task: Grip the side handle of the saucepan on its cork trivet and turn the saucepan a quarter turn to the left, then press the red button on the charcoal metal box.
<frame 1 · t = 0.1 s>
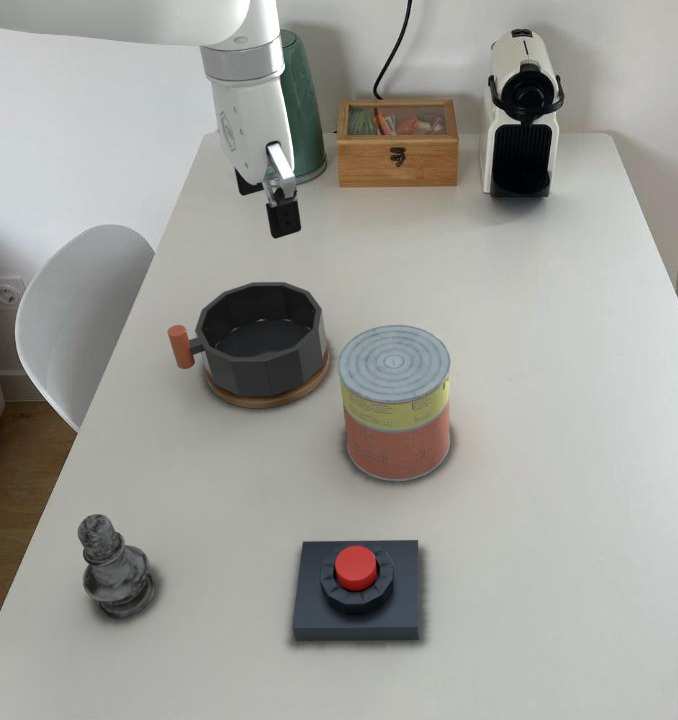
hand: (269, 211, 87), 20 cm above the table, tool pointing down, fingers open, 9 cm apart
button box: (359, 595, 75), on the table
saucepan: (248, 335, 95), point 5 cm above the table, hinge at 0.0°
trivet: (268, 364, 99), on the table
canned food: (398, 442, 89), on the table
button: (356, 568, 72), point 4 cm above the table, slide at 0.1 cm
grey chess pawn: (126, 594, 76), on the table
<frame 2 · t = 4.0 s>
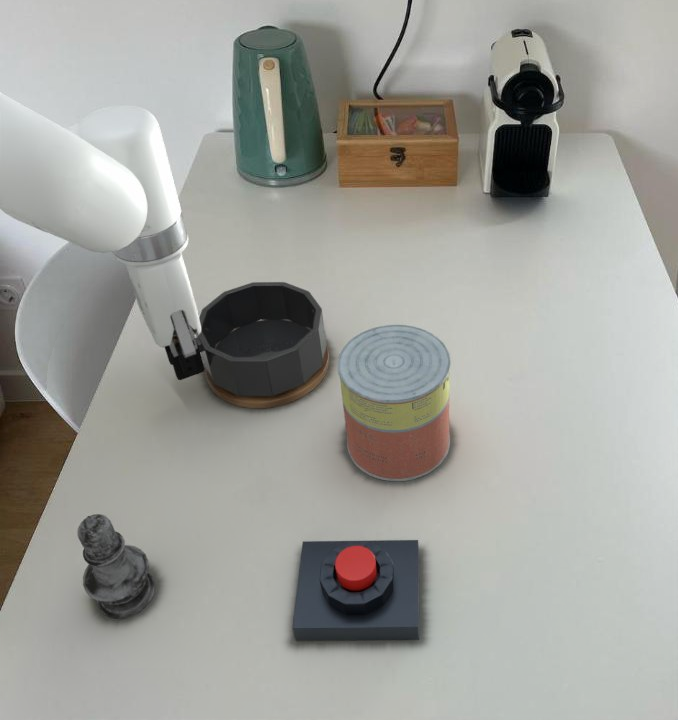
hand: (187, 366, 93), 4 cm above the table, tool pointing down, fingers closed on saucepan, 2 cm apart
saucepan: (248, 336, 95), point 5 cm above the table, hinge at 0.0°, touching gripper
everything else where it was.
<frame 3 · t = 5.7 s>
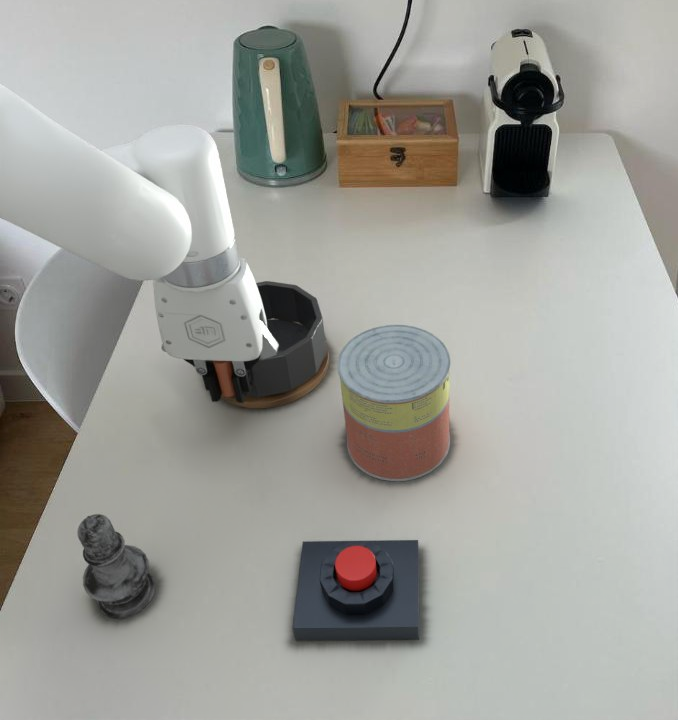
hand: (231, 392, 90), 4 cm above the table, tool pointing down, fingers closed on saucepan, 2 cm apart
saucepan: (256, 340, 94), point 5 cm above the table, hinge at 46.8°, touching gripper
everything else where it was.
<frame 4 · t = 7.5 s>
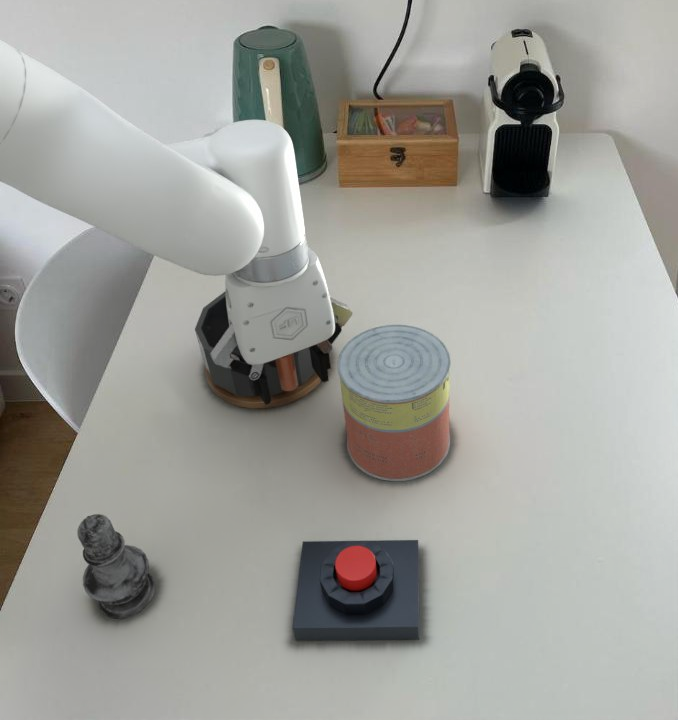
hand: (292, 384, 90), 4 cm above the table, tool pointing down, fingers open, 6 cm apart
saucepan: (265, 339, 94), point 5 cm above the table, hinge at 87.8°
everything else where it was.
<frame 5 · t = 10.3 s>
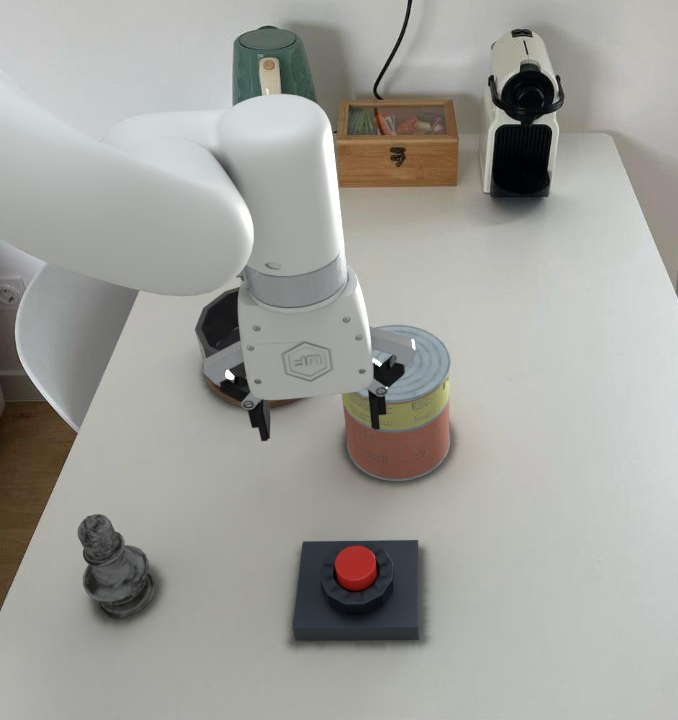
hand: (320, 423, 72), 14 cm above the table, tool pointing down, fingers open, 9 cm apart
nothing on the table moved.
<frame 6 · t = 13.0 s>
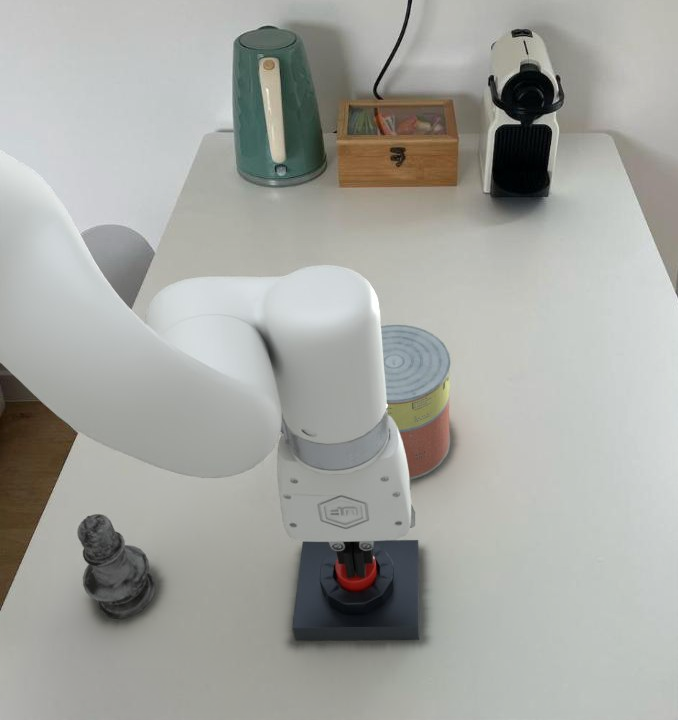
hand: (357, 563, 72), 5 cm above the table, tool pointing down, fingers closed
button: (356, 569, 72), point 4 cm above the table, slide at -0.2 cm, touching gripper
everything else where it was.
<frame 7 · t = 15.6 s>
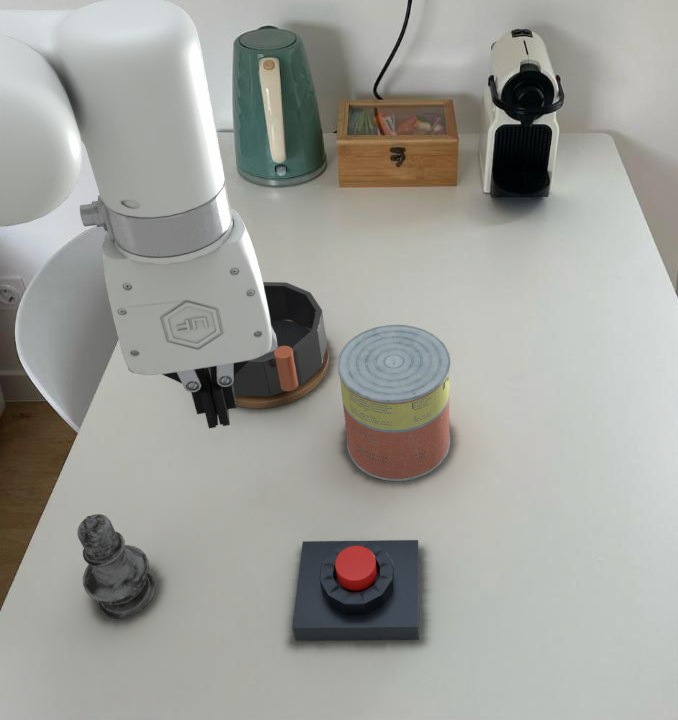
hand: (218, 413, 63), 21 cm above the table, tool pointing down, fingers closed
button: (356, 568, 72), point 4 cm above the table, slide at 0.1 cm
everything else where it was.
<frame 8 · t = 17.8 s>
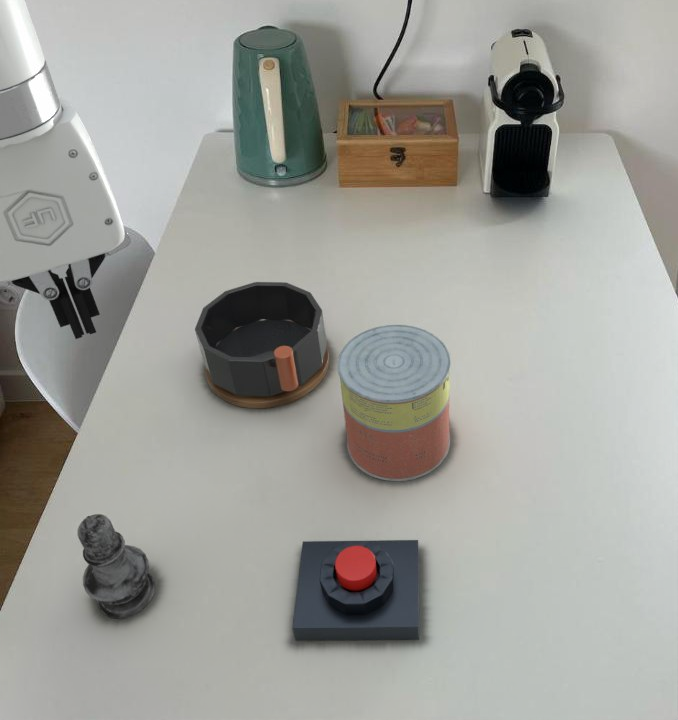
hand: (82, 325, 63), 27 cm above the table, tool pointing down, fingers closed
nothing on the table moved.
at the end: saucepan at +88° (first picture: +0°); button pushed in 1.1 cm at the most during the clip, back to where it started at the end; button slide at 0.1 cm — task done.
